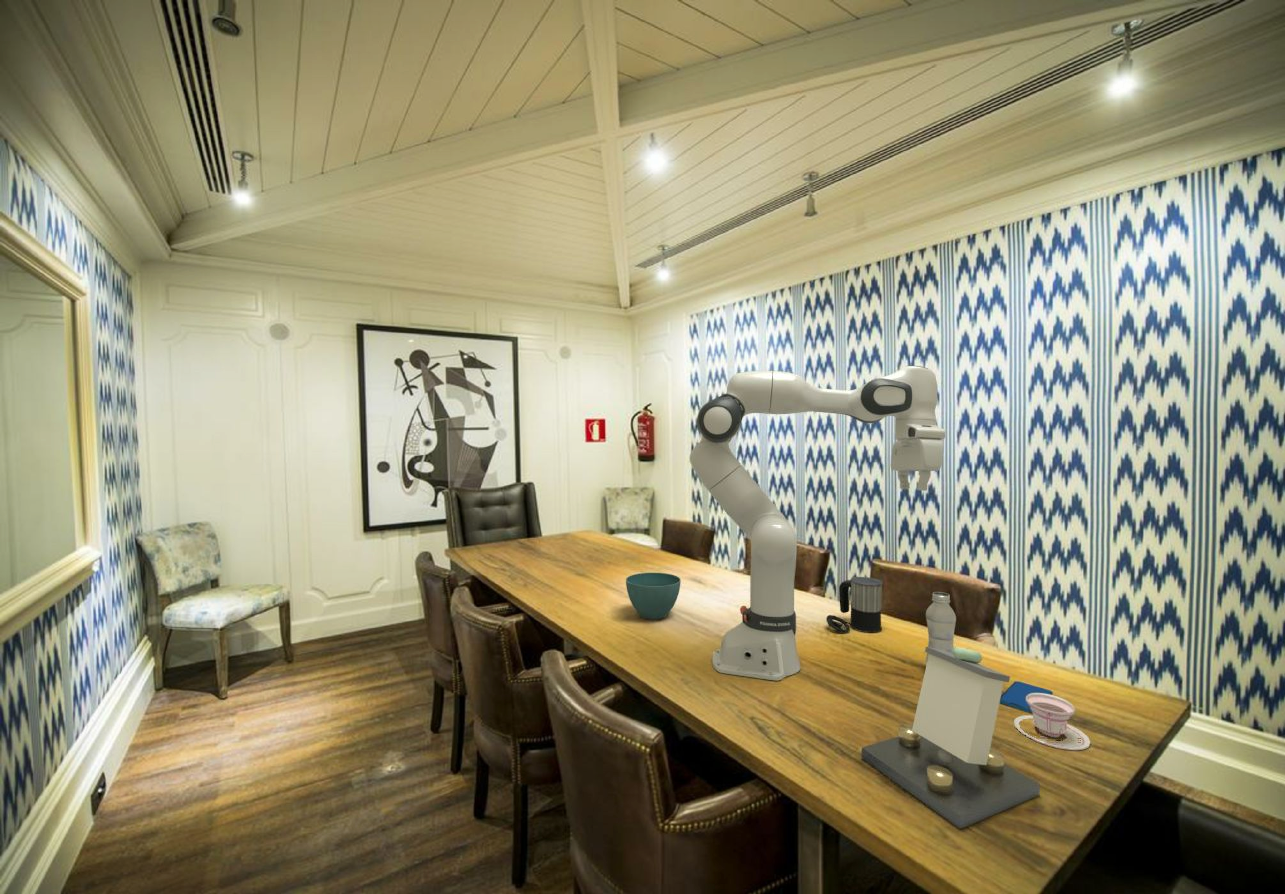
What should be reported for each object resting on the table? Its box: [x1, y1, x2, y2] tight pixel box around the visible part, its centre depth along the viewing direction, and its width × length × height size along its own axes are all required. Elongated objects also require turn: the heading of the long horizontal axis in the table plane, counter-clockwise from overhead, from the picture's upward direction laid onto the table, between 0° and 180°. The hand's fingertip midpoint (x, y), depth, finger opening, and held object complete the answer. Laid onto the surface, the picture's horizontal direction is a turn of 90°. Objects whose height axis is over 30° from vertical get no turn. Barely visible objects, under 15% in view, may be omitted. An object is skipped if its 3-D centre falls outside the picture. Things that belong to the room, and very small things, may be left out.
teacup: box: [1013, 693, 1091, 751], centre depth 104 cm, size 12×12×6 cm
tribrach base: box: [861, 723, 1041, 830], centre depth 91 cm, size 19×19×4 cm
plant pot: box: [625, 572, 682, 621], centre depth 174 cm, size 18×18×12 cm
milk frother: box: [825, 576, 883, 633], centre depth 162 cm, size 14×16×15 cm
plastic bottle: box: [925, 591, 957, 665], centre depth 130 cm, size 6×7×20 cm
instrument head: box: [912, 646, 1011, 765], centre depth 92 cm, size 6×11×20 cm, turn 23°
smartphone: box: [999, 681, 1054, 715], centre depth 118 cm, size 7×1×15 cm
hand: (912, 489), depth 127 cm, fingers open, 8 cm apart
